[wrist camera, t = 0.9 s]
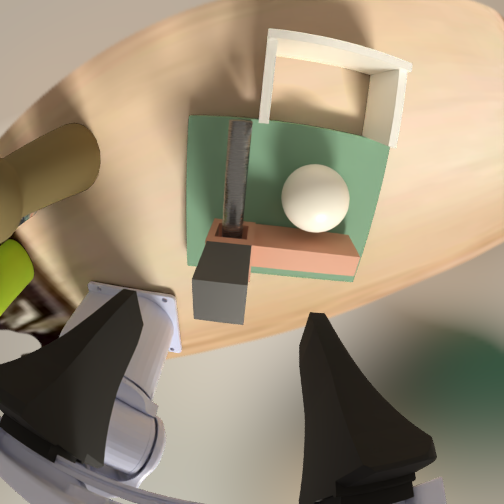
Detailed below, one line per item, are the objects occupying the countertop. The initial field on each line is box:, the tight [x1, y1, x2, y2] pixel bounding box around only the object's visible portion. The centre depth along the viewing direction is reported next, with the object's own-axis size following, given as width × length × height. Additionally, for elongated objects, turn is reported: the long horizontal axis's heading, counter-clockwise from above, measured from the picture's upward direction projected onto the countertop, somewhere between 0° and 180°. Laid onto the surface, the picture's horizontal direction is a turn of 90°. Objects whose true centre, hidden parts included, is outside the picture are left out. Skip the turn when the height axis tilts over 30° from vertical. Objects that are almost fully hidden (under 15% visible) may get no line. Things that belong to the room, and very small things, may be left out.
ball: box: [281, 164, 350, 232], centre depth 16 cm, size 4×4×4 cm
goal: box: [259, 28, 412, 148], centre depth 13 cm, size 7×5×5 cm
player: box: [192, 218, 360, 325], centre depth 15 cm, size 9×2×7 cm, turn 85°
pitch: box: [186, 115, 390, 282], centre depth 19 cm, size 13×11×1 cm
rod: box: [222, 119, 253, 239], centre depth 17 cm, size 1×11×3 cm, turn 175°
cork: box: [0, 123, 100, 243], centre depth 13 cm, size 6×6×11 cm
